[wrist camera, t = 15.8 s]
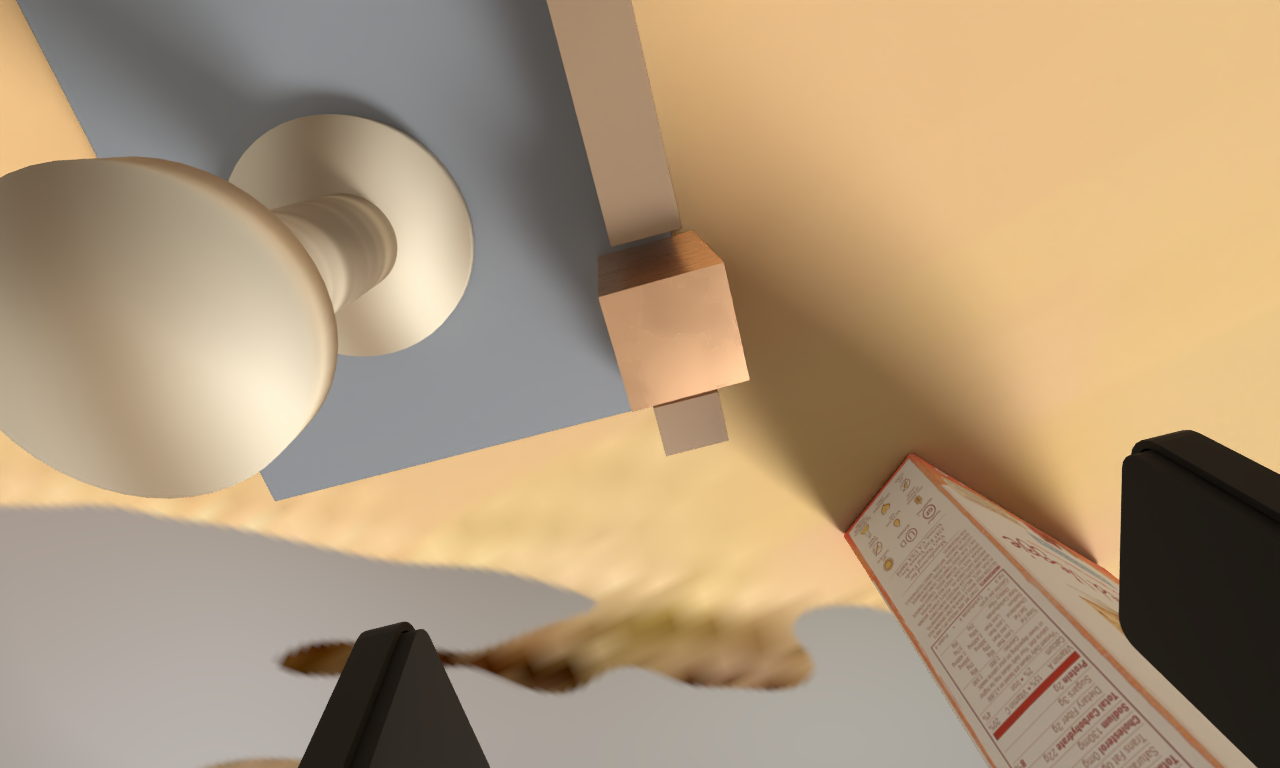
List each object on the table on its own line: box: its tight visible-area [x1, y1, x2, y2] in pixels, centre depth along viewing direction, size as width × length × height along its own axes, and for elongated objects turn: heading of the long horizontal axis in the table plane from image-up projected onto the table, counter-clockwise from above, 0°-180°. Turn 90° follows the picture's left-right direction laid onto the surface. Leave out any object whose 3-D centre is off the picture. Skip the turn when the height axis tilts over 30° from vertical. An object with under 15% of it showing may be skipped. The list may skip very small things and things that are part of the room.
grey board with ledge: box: [16, 0, 729, 501], centre depth 24 cm, size 20×23×6 cm
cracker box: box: [844, 454, 1257, 768], centre depth 26 cm, size 14×6×21 cm, turn 58°
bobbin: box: [0, 114, 475, 499], centre depth 20 cm, size 9×9×14 cm
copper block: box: [597, 230, 750, 412], centre depth 25 cm, size 4×4×7 cm
